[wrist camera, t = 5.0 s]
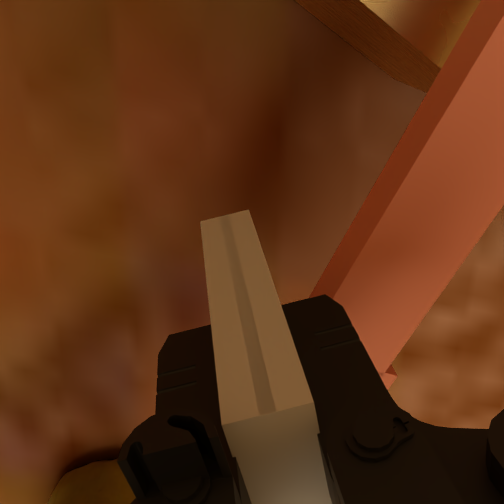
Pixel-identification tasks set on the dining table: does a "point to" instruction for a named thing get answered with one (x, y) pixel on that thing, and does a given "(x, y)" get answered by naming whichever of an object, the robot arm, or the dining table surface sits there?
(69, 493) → the mug
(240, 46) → the dining table surface
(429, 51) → the valve pipe
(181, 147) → the dining table surface
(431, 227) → the lever
